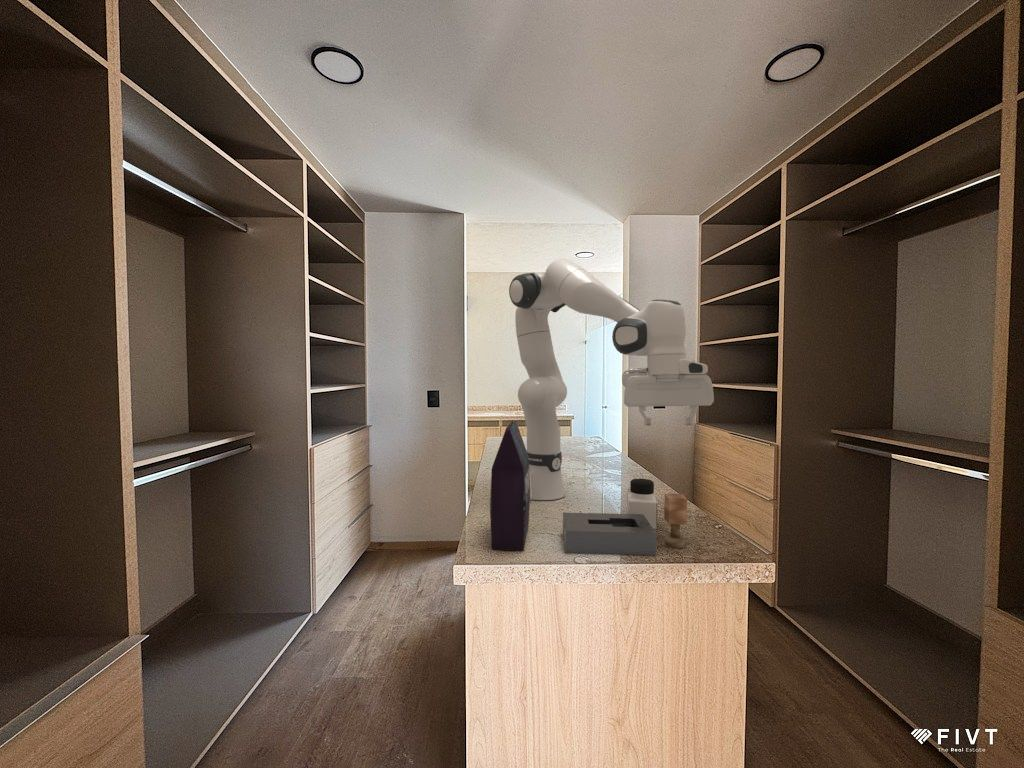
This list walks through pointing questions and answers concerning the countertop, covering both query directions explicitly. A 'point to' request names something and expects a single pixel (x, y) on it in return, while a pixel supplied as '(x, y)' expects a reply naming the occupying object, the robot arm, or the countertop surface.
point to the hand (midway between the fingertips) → (668, 425)
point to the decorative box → (510, 492)
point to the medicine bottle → (643, 500)
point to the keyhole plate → (608, 534)
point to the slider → (675, 519)
